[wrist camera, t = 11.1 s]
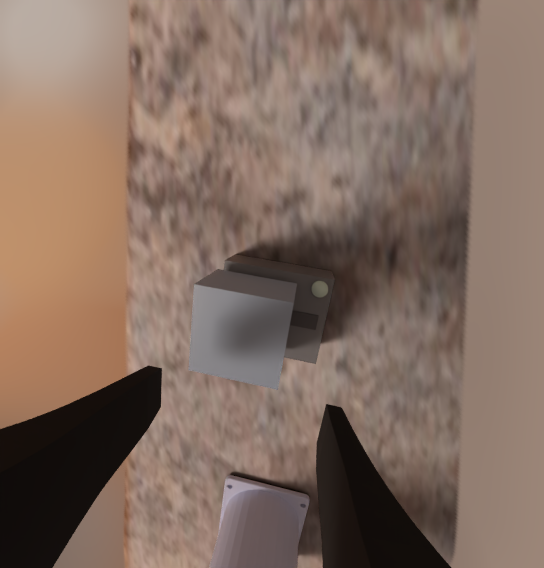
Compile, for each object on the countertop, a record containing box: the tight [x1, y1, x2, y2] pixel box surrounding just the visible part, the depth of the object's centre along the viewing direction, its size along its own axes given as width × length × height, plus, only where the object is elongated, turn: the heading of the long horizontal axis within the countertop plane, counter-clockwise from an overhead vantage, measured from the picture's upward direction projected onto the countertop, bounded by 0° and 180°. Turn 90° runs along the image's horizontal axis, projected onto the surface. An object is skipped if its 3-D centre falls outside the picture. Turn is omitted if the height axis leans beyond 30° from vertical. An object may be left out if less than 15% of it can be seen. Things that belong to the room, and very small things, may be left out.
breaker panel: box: [224, 254, 335, 364], centre depth 18 cm, size 6×7×3 cm
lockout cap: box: [189, 269, 297, 390], centre depth 15 cm, size 5×5×4 cm
